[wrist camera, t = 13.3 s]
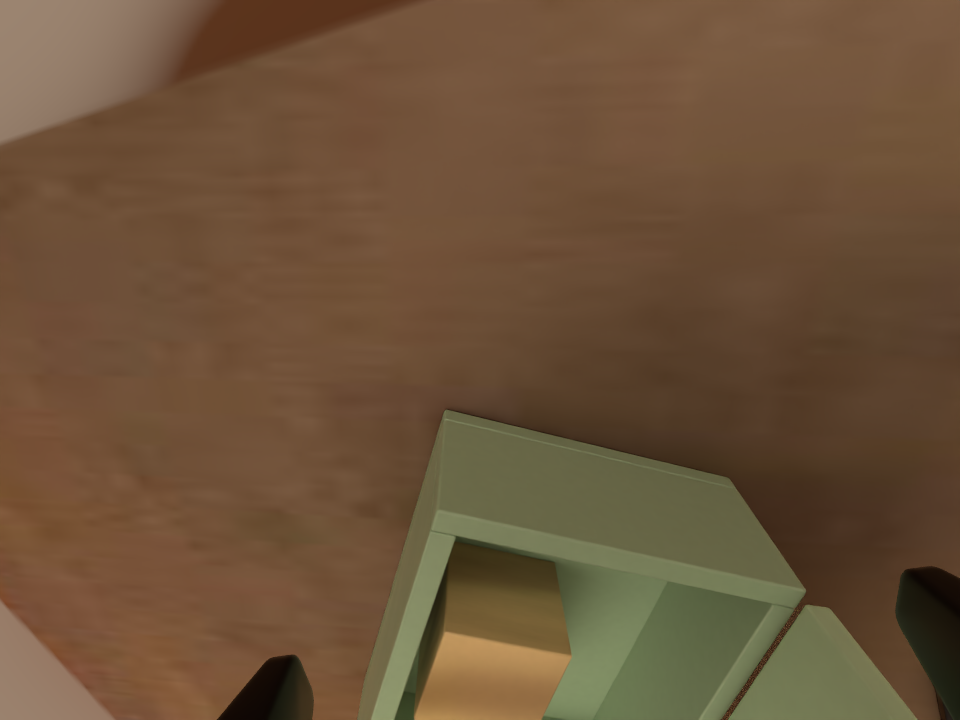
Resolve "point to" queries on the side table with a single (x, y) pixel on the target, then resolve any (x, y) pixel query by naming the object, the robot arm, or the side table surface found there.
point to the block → (492, 639)
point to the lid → (820, 677)
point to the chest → (595, 572)
